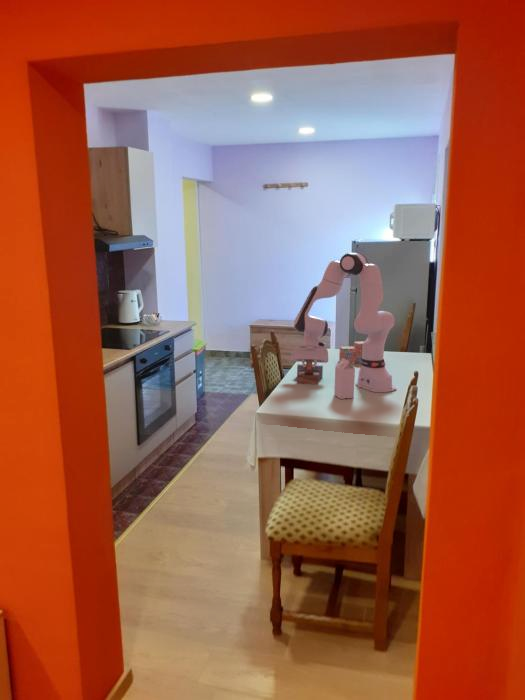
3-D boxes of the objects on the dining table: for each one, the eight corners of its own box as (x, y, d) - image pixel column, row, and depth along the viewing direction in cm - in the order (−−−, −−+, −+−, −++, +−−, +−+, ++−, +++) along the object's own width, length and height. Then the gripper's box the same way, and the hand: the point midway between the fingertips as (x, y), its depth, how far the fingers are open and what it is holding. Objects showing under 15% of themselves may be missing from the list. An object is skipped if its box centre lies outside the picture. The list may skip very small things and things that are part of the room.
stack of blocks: (341, 363, 351) (342, 343, 349) (339, 361, 357) (339, 341, 355) (375, 362, 354) (376, 343, 352) (372, 360, 360) (373, 341, 358)
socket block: (299, 378, 318) (299, 370, 317) (319, 379, 316) (319, 371, 315) (297, 383, 307) (297, 375, 306) (318, 384, 306) (318, 376, 305)
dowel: (312, 376, 310) (313, 361, 308) (307, 376, 309) (307, 362, 307) (310, 374, 313) (310, 360, 311) (304, 375, 312) (305, 360, 310)
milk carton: (346, 394, 288) (348, 357, 284) (353, 398, 282) (355, 360, 278) (334, 395, 286) (335, 358, 282) (341, 399, 279) (342, 361, 275)
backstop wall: (297, 376, 321) (297, 364, 319) (322, 377, 319) (322, 365, 317) (297, 377, 319) (297, 365, 317) (322, 378, 317) (322, 366, 315)
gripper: (291, 342, 316) (289, 364, 308) (329, 344, 313) (327, 365, 305) (292, 348, 321) (290, 370, 314) (329, 350, 318) (327, 371, 311)
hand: (309, 368), depth 309 cm, fingers closed on dowel, 3 cm apart
